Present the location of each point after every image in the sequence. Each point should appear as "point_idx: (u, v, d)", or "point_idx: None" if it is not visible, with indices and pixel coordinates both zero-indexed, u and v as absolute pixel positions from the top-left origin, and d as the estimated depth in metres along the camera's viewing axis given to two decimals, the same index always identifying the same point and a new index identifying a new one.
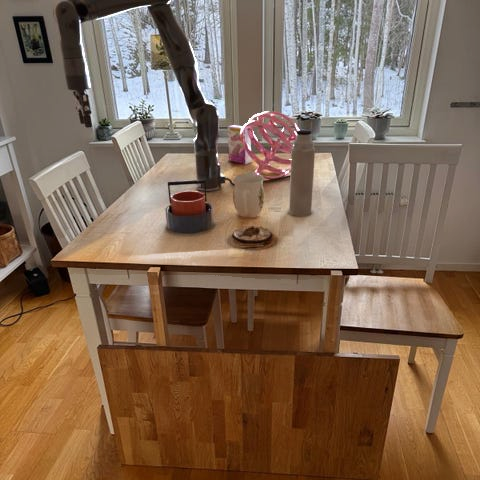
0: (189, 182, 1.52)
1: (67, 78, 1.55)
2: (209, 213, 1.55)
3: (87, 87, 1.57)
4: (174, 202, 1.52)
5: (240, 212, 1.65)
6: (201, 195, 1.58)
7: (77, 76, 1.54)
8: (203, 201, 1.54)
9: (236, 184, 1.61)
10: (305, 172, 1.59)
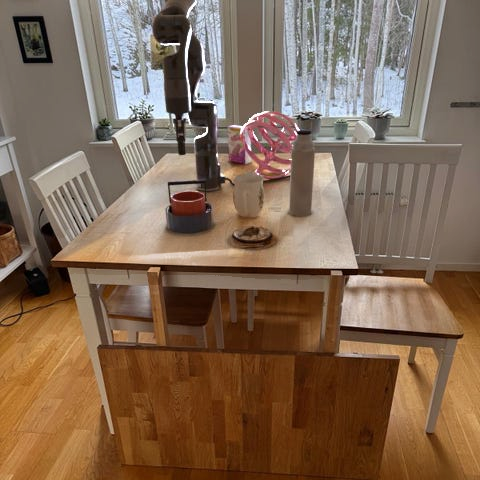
0: (189, 182, 1.52)
1: (166, 100, 1.39)
2: (209, 213, 1.55)
3: (186, 111, 1.39)
4: (174, 202, 1.52)
5: (240, 212, 1.65)
6: (201, 195, 1.58)
7: (175, 99, 1.37)
8: (203, 201, 1.54)
9: (236, 184, 1.61)
10: (305, 172, 1.59)
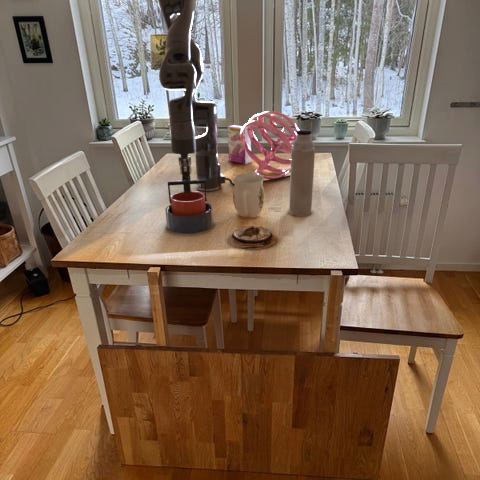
0: None
1: (171, 141, 1.44)
2: (209, 213, 1.55)
3: (191, 151, 1.45)
4: (174, 202, 1.52)
5: (240, 212, 1.65)
6: (201, 195, 1.58)
7: (181, 140, 1.42)
8: (203, 201, 1.54)
9: (236, 184, 1.61)
10: (305, 172, 1.59)
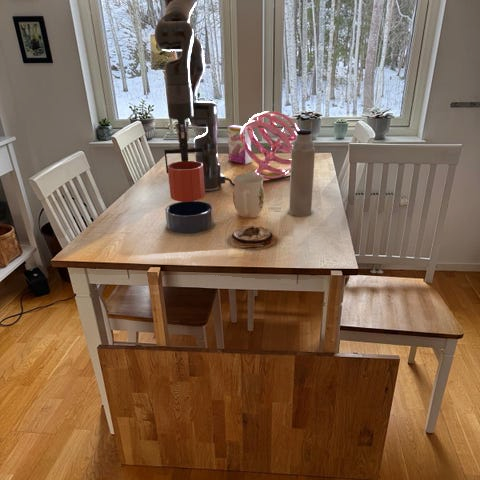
0: None
1: (168, 106, 1.39)
2: (209, 213, 1.55)
3: (188, 116, 1.40)
4: (171, 171, 1.47)
5: (240, 212, 1.65)
6: (199, 165, 1.53)
7: (178, 104, 1.37)
8: (201, 170, 1.49)
9: (236, 184, 1.61)
10: (305, 172, 1.59)
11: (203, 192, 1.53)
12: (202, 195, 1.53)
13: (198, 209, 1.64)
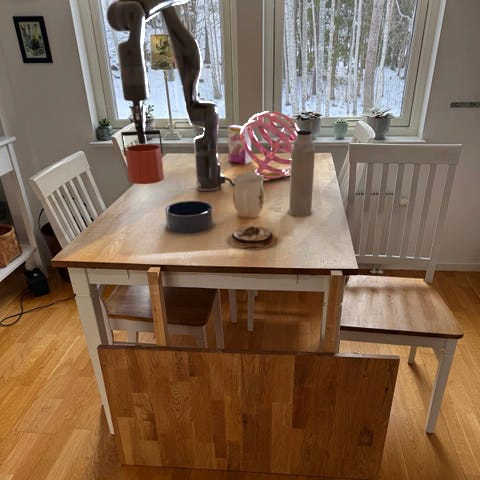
0: None
1: (123, 87, 1.40)
2: (209, 213, 1.55)
3: (143, 98, 1.41)
4: (128, 153, 1.48)
5: (240, 212, 1.65)
6: (157, 148, 1.53)
7: (132, 86, 1.38)
8: (158, 152, 1.50)
9: (236, 184, 1.61)
10: (305, 172, 1.59)
11: (161, 175, 1.54)
12: (160, 178, 1.53)
13: (198, 209, 1.64)
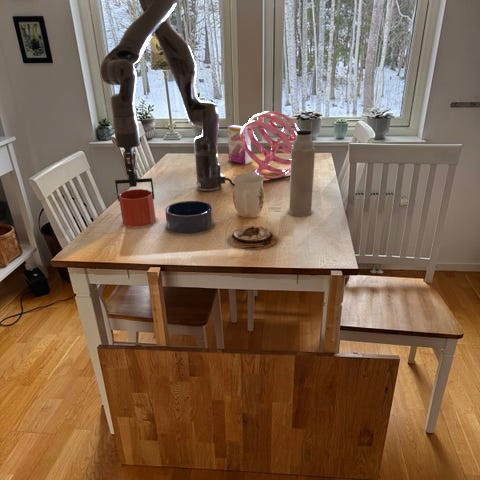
0: (136, 180, 1.57)
1: (115, 135, 1.48)
2: (209, 213, 1.55)
3: (134, 145, 1.49)
4: (121, 200, 1.57)
5: (240, 212, 1.65)
6: (149, 193, 1.63)
7: (124, 134, 1.46)
8: (150, 199, 1.59)
9: (236, 184, 1.61)
10: (305, 172, 1.59)
11: (153, 219, 1.63)
12: (152, 222, 1.63)
13: (198, 209, 1.64)
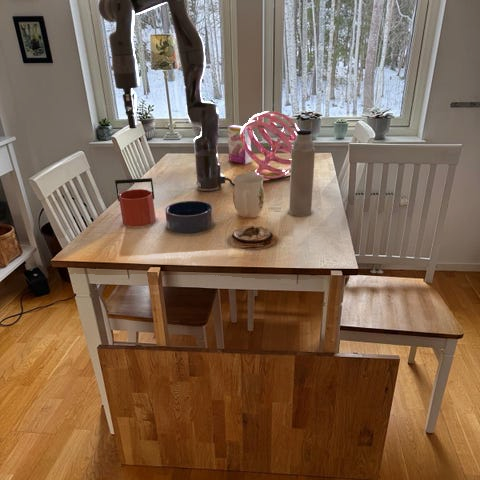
0: (136, 180, 1.57)
1: (114, 76, 1.47)
2: (209, 213, 1.55)
3: (134, 86, 1.48)
4: (121, 200, 1.57)
5: (240, 212, 1.65)
6: (149, 193, 1.63)
7: (123, 74, 1.45)
8: (150, 199, 1.59)
9: (236, 184, 1.61)
10: (305, 172, 1.59)
11: (153, 219, 1.63)
12: (152, 222, 1.63)
13: (198, 209, 1.64)
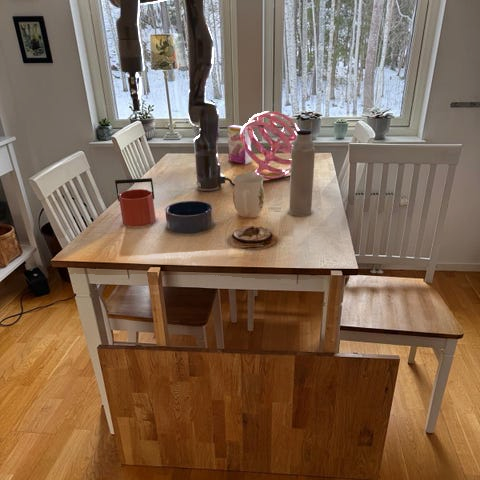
0: (136, 180, 1.57)
1: (120, 60, 1.53)
2: (209, 213, 1.55)
3: (138, 69, 1.54)
4: (121, 200, 1.57)
5: (240, 212, 1.65)
6: (149, 193, 1.63)
7: (128, 58, 1.51)
8: (150, 199, 1.59)
9: (236, 184, 1.61)
10: (305, 172, 1.59)
11: (153, 219, 1.63)
12: (152, 222, 1.63)
13: (198, 209, 1.64)
